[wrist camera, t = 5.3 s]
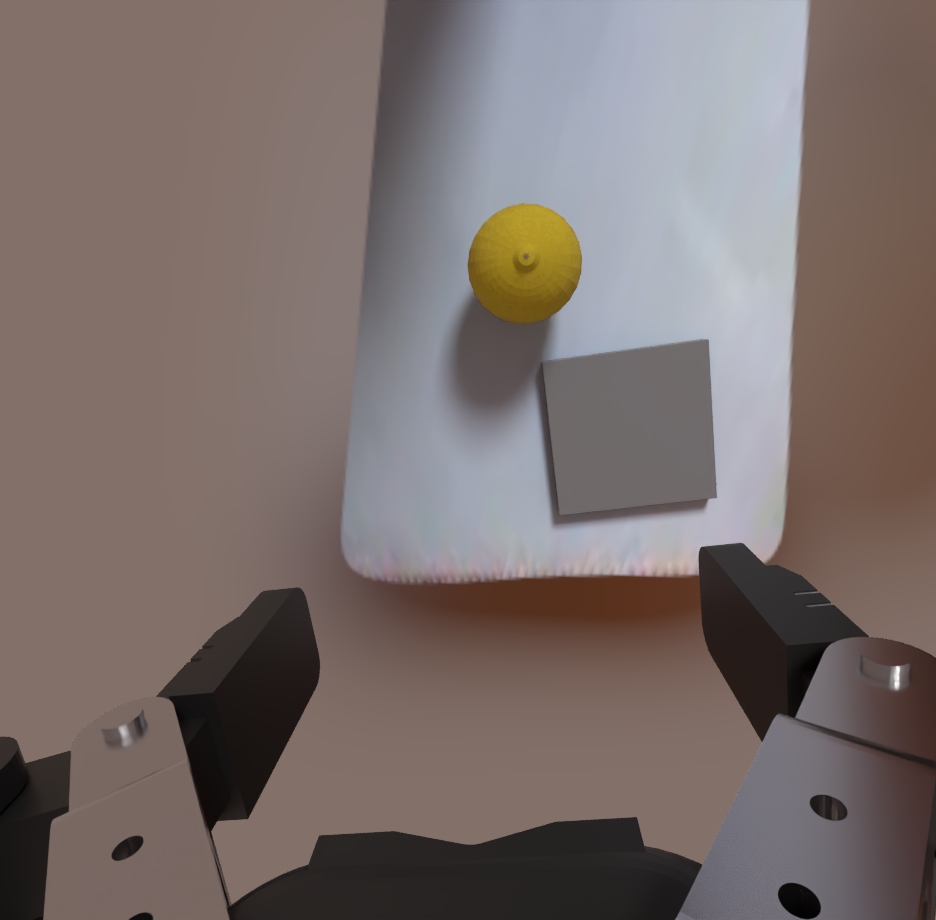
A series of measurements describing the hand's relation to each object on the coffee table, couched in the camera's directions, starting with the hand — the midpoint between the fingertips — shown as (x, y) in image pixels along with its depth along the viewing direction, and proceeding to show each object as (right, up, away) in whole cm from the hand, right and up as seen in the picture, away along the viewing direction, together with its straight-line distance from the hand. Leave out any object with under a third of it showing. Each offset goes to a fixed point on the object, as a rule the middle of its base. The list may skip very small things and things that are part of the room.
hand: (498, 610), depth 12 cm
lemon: (+2, +14, +21) cm, 25 cm away
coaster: (+9, +5, +22) cm, 24 cm away
